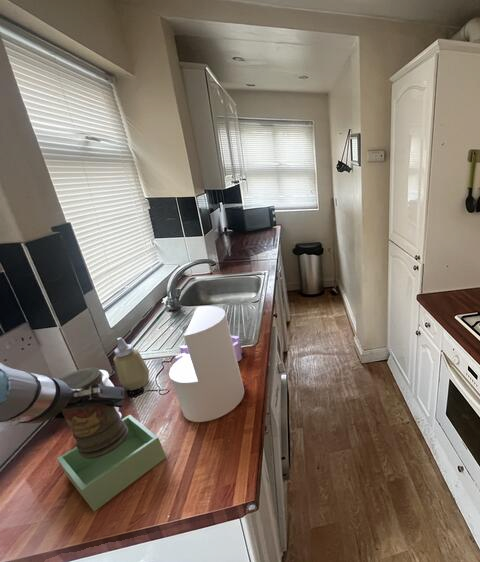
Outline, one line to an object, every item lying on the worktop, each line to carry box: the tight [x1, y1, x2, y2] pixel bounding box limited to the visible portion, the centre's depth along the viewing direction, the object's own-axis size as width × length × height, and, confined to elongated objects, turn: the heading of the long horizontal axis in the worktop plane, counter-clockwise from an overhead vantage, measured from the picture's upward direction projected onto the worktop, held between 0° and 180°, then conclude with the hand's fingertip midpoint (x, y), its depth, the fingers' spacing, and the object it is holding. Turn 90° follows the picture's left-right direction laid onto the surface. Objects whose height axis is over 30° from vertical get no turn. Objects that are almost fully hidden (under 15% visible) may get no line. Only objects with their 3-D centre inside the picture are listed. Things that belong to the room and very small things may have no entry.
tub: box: [56, 414, 167, 512], centre depth 73 cm, size 15×15×7 cm
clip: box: [174, 335, 244, 363], centre depth 111 cm, size 20×12×7 cm, turn 110°
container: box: [58, 367, 128, 459], centre depth 68 cm, size 9×9×18 cm
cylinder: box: [168, 305, 245, 423], centre depth 89 cm, size 17×17×28 cm
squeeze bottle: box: [113, 337, 150, 391], centre depth 99 cm, size 8×8×18 cm
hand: (98, 406), depth 71 cm, fingers closed on container, 8 cm apart
